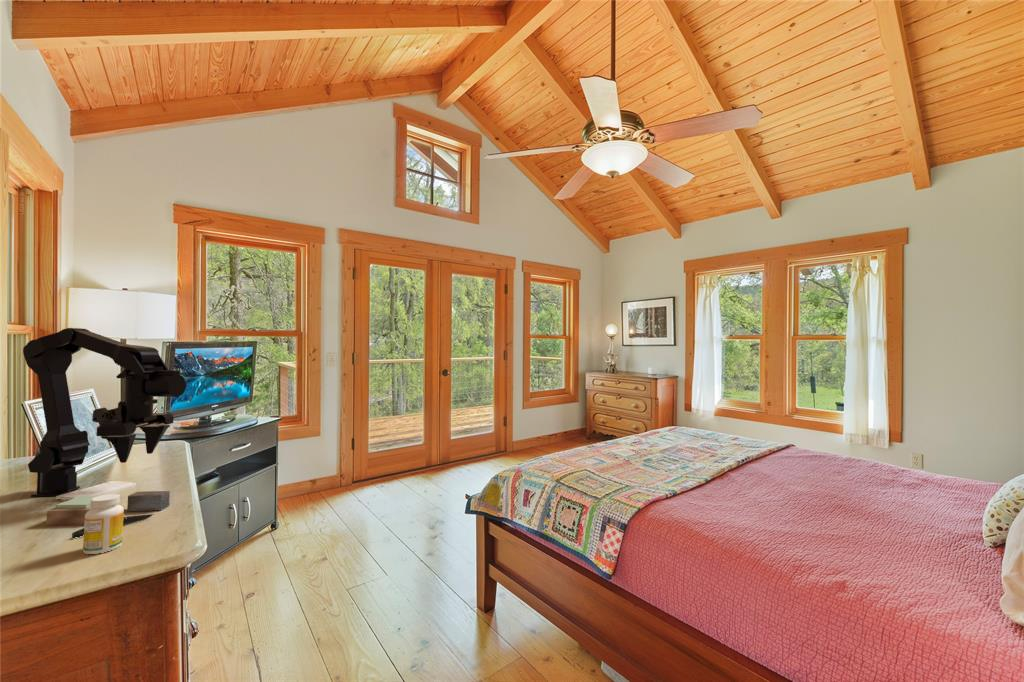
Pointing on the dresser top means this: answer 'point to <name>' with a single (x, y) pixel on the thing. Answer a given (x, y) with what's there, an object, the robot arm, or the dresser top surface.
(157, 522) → the dresser top surface
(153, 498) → the dark gray rectangular block
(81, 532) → the folding knife
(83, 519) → the frame
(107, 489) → the external hard drive
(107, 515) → the supplement bottle
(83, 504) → the sage block
